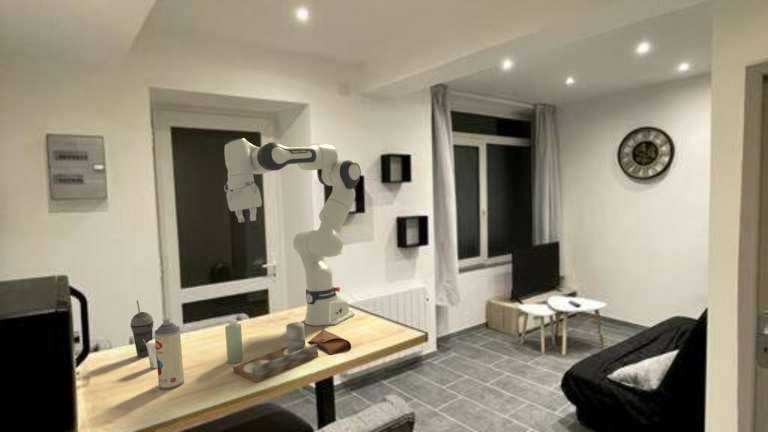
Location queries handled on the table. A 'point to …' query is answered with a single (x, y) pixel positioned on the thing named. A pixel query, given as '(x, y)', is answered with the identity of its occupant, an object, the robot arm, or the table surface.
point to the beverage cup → (142, 331)
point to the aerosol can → (169, 356)
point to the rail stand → (280, 356)
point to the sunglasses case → (330, 342)
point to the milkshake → (152, 353)
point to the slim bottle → (234, 342)
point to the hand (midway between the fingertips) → (247, 221)
